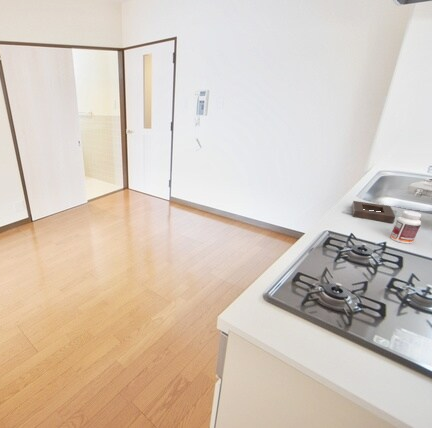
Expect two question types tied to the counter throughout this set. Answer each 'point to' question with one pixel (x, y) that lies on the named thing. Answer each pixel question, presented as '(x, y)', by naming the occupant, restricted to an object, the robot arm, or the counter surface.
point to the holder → (383, 216)
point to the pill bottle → (406, 227)
